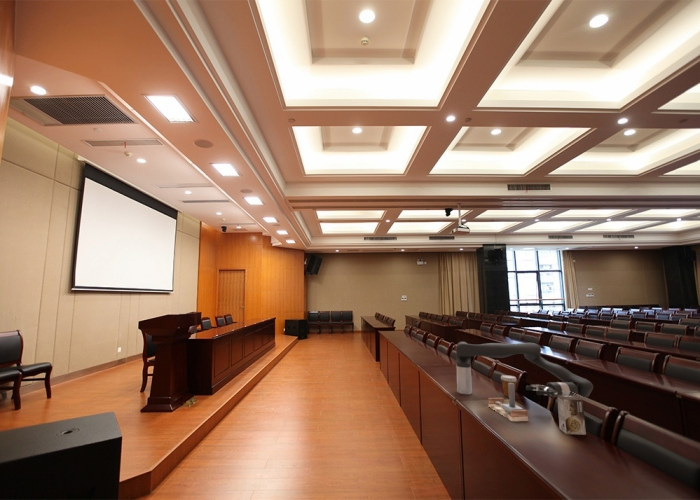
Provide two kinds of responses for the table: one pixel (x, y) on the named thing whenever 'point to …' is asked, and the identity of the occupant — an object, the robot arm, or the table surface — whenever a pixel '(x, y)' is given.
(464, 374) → the robot arm
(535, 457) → the table surface
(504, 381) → the disposable coffee cup
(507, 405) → the carriage
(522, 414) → the rail bed
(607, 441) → the table surface
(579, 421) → the coffee box
